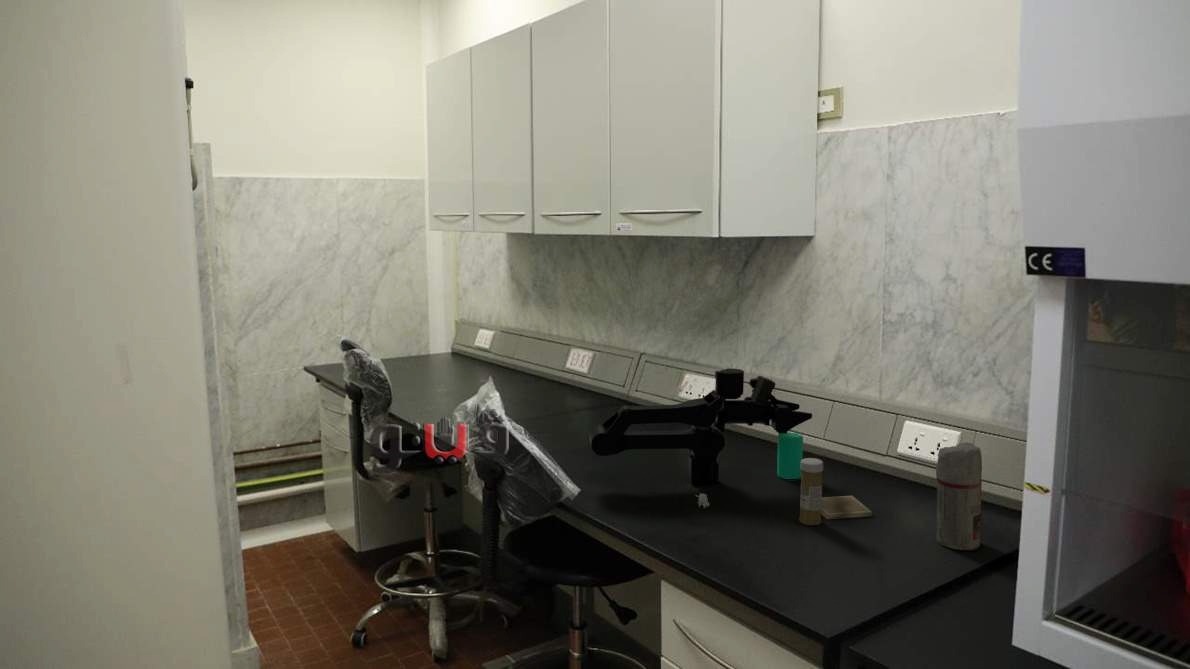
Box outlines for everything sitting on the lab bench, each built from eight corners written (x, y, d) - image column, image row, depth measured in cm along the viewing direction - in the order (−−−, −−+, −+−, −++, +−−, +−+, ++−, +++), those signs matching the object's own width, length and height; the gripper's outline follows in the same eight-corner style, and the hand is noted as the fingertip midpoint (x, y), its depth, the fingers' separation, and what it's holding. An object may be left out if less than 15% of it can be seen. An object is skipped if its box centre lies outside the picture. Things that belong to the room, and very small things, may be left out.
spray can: (960, 555, 152) (966, 453, 149) (925, 540, 160) (929, 442, 156) (990, 546, 156) (996, 446, 153) (954, 532, 163) (959, 436, 160)
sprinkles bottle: (796, 518, 172) (797, 457, 170) (816, 517, 172) (818, 456, 170) (803, 526, 167) (805, 464, 165) (825, 525, 168) (826, 463, 166)
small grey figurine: (710, 507, 181) (710, 494, 180) (705, 511, 178) (705, 497, 178) (697, 505, 182) (697, 491, 182) (693, 509, 180) (693, 495, 179)
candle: (802, 480, 196) (803, 433, 194) (777, 479, 197) (778, 432, 195) (801, 473, 201) (802, 426, 200) (776, 471, 203) (777, 425, 201)
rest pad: (826, 519, 171) (826, 514, 171) (809, 502, 181) (809, 497, 181) (871, 516, 172) (871, 511, 172) (851, 499, 182) (851, 495, 182)
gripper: (754, 387, 184) (820, 386, 186) (733, 371, 203) (794, 371, 204) (752, 434, 186) (818, 433, 187) (732, 414, 204) (792, 413, 206)
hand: (805, 411), depth 196 cm, fingers open, 9 cm apart
